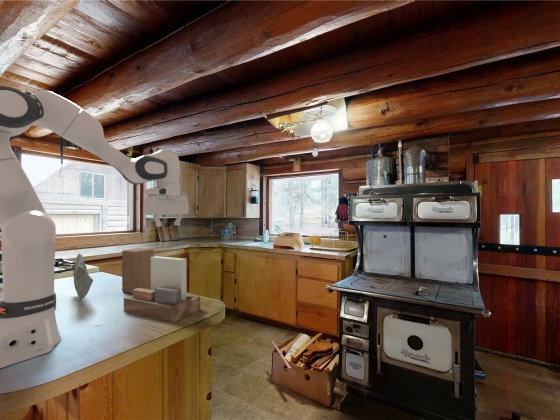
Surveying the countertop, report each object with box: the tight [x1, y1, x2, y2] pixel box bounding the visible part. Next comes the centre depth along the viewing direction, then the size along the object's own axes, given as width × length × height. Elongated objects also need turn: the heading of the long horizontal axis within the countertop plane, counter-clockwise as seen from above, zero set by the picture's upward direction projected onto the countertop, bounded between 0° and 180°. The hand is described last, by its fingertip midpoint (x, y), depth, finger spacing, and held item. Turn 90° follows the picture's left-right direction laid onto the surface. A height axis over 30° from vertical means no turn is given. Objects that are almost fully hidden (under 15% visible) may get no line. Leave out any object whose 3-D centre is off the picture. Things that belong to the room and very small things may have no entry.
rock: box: [73, 253, 94, 301], centre depth 122 cm, size 27×6×20 cm, turn 42°
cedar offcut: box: [132, 288, 155, 302], centre depth 109 cm, size 3×10×8 cm, turn 66°
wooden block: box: [121, 247, 154, 295], centre depth 136 cm, size 10×10×20 cm
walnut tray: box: [123, 293, 201, 323], centre depth 109 cm, size 14×26×5 cm, turn 66°
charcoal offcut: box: [155, 286, 181, 306], centre depth 104 cm, size 3×10×10 cm, turn 66°
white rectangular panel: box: [151, 255, 187, 300], centre depth 112 cm, size 3×16×20 cm, turn 66°
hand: (168, 226), depth 112 cm, fingers open, 8 cm apart
